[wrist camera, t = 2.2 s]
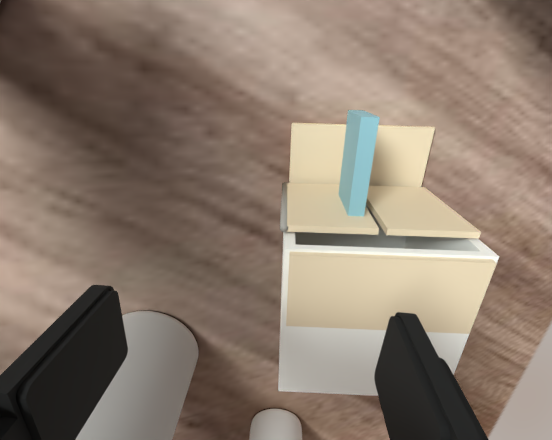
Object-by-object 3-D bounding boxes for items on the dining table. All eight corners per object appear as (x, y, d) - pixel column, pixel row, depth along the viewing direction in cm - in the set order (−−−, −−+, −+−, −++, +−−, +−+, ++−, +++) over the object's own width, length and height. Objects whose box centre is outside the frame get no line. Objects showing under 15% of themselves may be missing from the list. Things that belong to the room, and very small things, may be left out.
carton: (287, 122, 29) (287, 153, 17) (437, 126, 29) (543, 161, 17) (281, 295, 37) (278, 396, 26) (396, 300, 37) (447, 404, 25)
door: (284, 105, 27) (283, 118, 18) (362, 107, 27) (399, 121, 18) (282, 188, 30) (279, 231, 22) (351, 190, 30) (377, 235, 21)
